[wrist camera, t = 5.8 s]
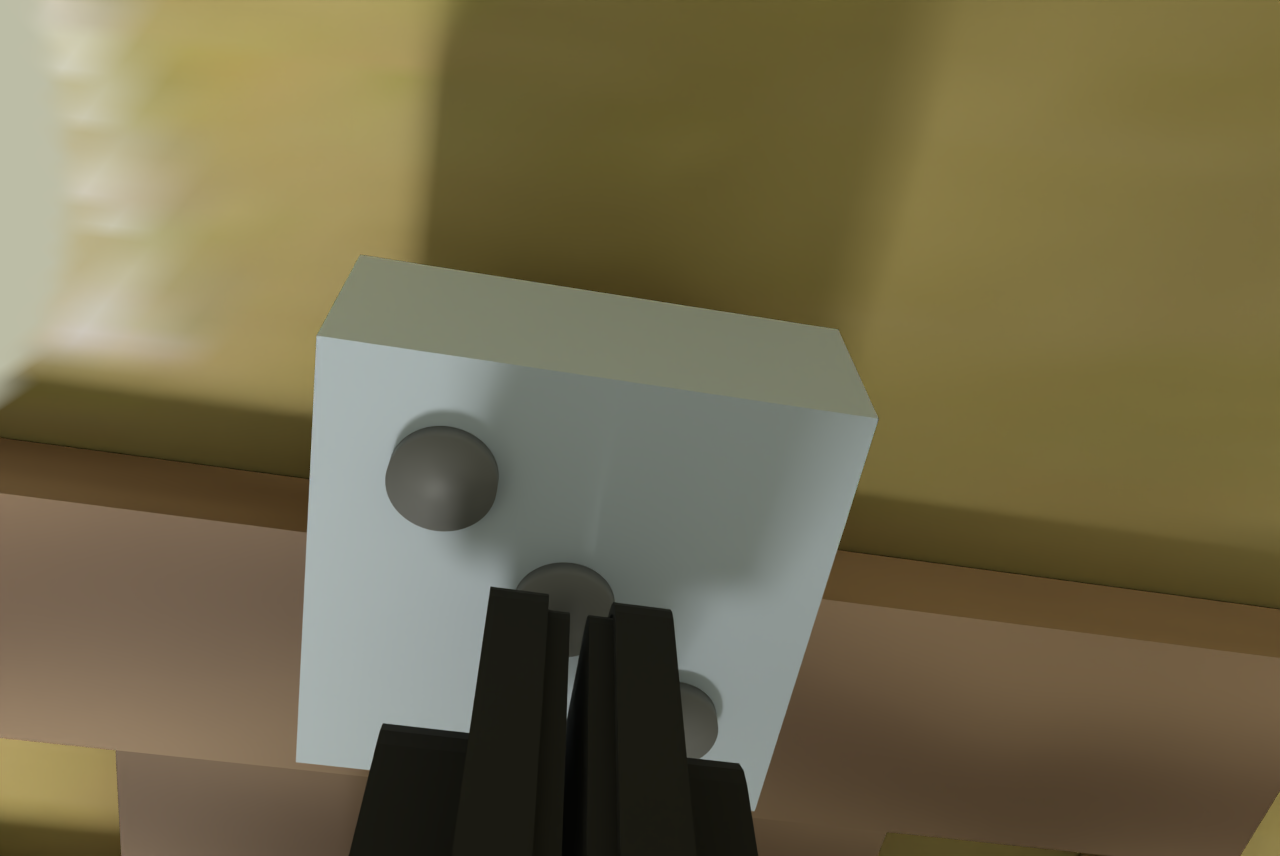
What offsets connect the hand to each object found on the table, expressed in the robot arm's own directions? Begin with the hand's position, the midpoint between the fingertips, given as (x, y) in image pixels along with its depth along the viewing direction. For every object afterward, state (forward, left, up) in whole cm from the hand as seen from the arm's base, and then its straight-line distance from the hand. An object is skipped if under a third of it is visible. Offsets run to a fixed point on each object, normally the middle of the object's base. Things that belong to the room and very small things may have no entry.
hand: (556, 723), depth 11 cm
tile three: (0, 0, -5) cm, 5 cm away
